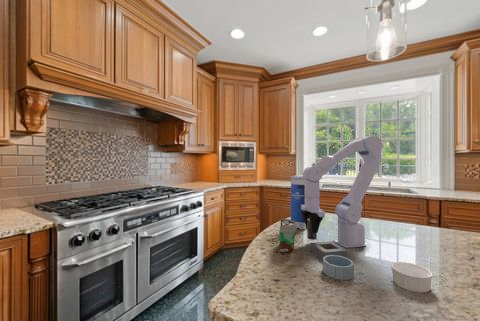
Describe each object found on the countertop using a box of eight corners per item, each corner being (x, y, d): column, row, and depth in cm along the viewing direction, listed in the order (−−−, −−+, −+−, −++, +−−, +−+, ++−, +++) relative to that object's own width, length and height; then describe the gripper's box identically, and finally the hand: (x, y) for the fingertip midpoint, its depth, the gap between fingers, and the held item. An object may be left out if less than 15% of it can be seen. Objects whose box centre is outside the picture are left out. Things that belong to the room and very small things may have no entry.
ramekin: (435, 298, 55) (435, 280, 55) (391, 287, 60) (391, 271, 60) (429, 282, 63) (429, 266, 63) (390, 273, 67) (390, 259, 67)
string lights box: (304, 230, 109) (305, 176, 110) (289, 227, 114) (289, 175, 114) (312, 224, 121) (312, 175, 121) (298, 222, 125) (298, 174, 125)
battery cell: (313, 236, 93) (313, 216, 93) (318, 239, 90) (318, 218, 90) (305, 237, 93) (305, 217, 93) (310, 240, 89) (310, 219, 89)
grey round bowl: (340, 265, 73) (340, 254, 73) (359, 278, 65) (359, 265, 65) (317, 267, 71) (317, 256, 71) (334, 281, 63) (334, 268, 63)
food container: (297, 256, 79) (297, 227, 79) (279, 255, 80) (279, 226, 80) (296, 244, 91) (296, 218, 91) (280, 242, 92) (280, 218, 92)
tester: (331, 249, 86) (331, 240, 86) (348, 259, 77) (348, 249, 77) (310, 251, 84) (310, 242, 84) (324, 261, 75) (324, 251, 75)
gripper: (294, 194, 97) (294, 226, 97) (312, 200, 83) (312, 237, 83) (309, 194, 99) (309, 225, 99) (329, 199, 85) (329, 236, 85)
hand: (312, 231), depth 91 cm, fingers closed on battery cell, 4 cm apart
